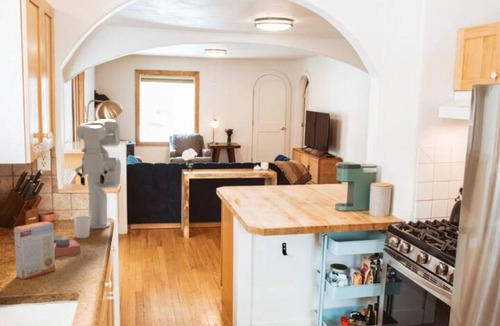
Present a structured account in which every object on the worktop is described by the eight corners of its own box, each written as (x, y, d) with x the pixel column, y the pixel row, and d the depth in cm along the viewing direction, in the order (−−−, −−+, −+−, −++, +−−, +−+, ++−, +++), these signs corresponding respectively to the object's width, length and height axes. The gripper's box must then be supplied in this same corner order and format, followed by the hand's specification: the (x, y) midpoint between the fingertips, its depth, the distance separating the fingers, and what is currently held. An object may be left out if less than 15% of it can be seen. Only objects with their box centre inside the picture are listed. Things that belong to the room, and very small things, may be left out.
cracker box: (48, 267, 205) (47, 220, 202) (55, 271, 201) (54, 222, 198) (15, 276, 194) (13, 226, 191) (22, 280, 190) (20, 229, 188)
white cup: (80, 239, 245) (79, 220, 244) (71, 236, 250) (70, 218, 248) (93, 236, 251) (93, 217, 250) (84, 233, 256) (84, 215, 255)
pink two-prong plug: (39, 247, 230) (39, 234, 229) (69, 243, 239) (69, 230, 238) (49, 257, 217) (49, 243, 216) (80, 252, 226) (80, 239, 225)
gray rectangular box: (49, 246, 233) (49, 236, 233) (59, 244, 237) (59, 234, 236) (53, 250, 228) (53, 240, 227) (64, 248, 231) (64, 238, 230)
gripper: (77, 152, 235) (77, 187, 237) (111, 151, 245) (111, 184, 247) (72, 151, 241) (73, 184, 243) (106, 149, 251) (106, 181, 253)
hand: (92, 184), depth 245 cm, fingers open, 9 cm apart
